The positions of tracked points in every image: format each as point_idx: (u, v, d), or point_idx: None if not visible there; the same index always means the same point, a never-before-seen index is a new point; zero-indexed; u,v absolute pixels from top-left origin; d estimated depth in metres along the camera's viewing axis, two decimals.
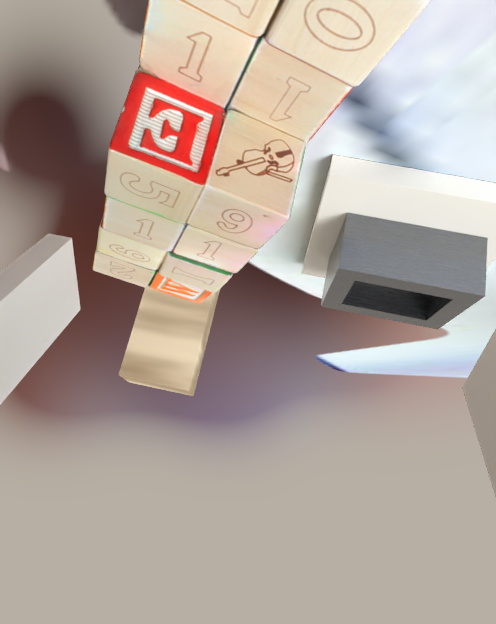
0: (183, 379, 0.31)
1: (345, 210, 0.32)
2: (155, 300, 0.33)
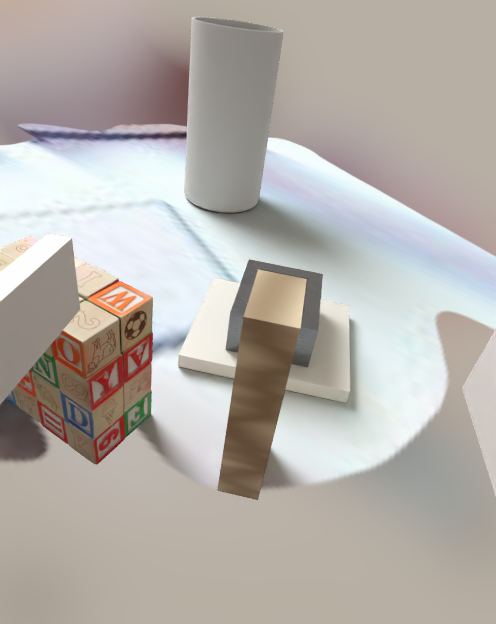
0: None
1: (223, 350, 0.43)
2: None
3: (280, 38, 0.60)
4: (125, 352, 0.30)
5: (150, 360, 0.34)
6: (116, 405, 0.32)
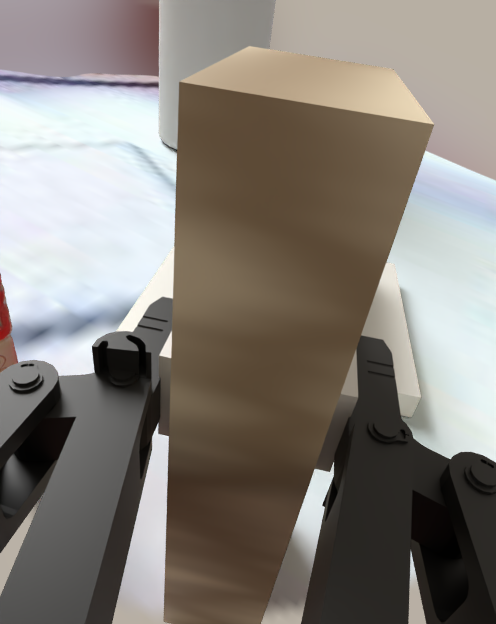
0: None
1: None
2: None
3: None
4: None
5: (6, 329, 0.16)
6: None
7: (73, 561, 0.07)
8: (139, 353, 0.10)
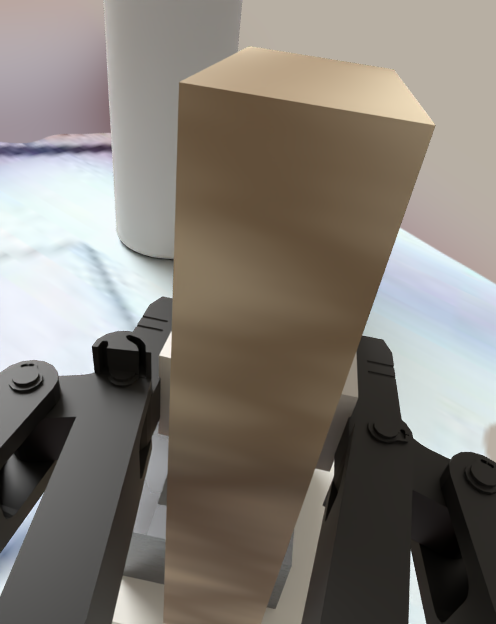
0: None
1: None
2: None
3: (237, 8, 0.40)
4: None
5: None
6: None
7: (73, 561, 0.07)
8: (139, 353, 0.10)
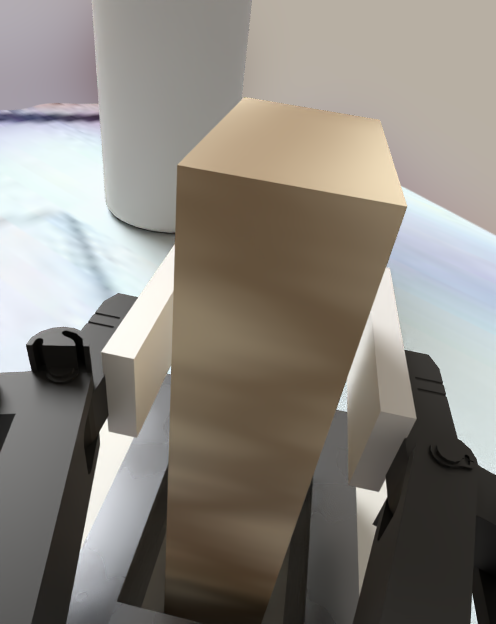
0: None
1: None
2: None
3: None
4: None
5: None
6: None
7: (18, 559, 0.06)
8: (78, 348, 0.10)
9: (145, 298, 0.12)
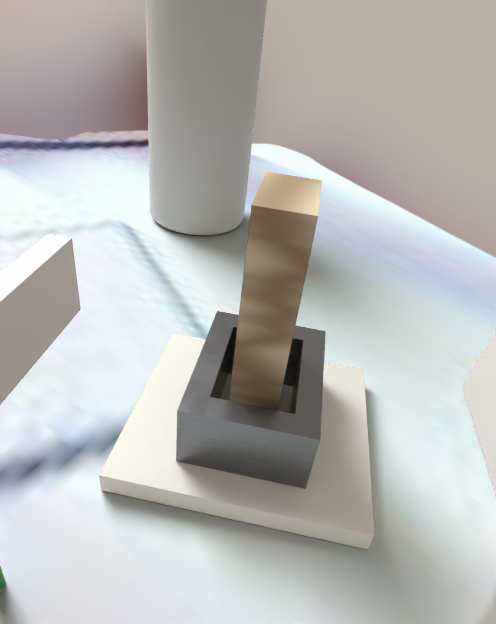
0: None
1: (172, 462, 0.27)
2: None
3: (262, 7, 0.45)
4: None
5: None
6: None
7: None
8: None
9: None
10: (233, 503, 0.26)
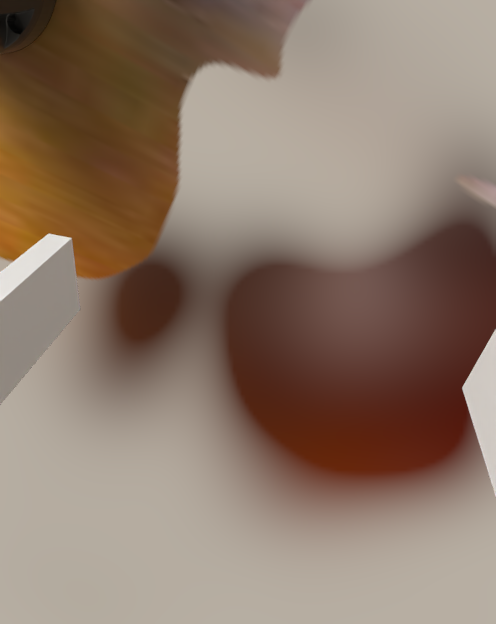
0: None
1: None
2: None
3: None
4: None
5: None
6: None
7: None
8: None
9: None
10: None
